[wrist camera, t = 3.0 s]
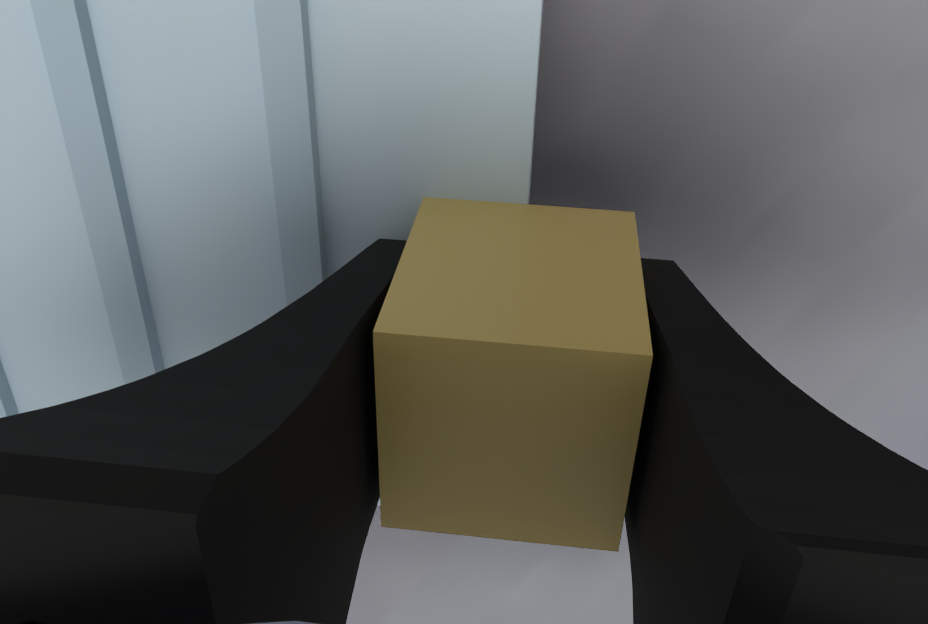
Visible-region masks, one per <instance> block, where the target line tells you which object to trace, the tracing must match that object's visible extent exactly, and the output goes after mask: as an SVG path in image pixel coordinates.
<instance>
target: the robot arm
mask: <svg viewBox="0 0 928 624" xmlns="http://www.w3.org/2000/svg"><path fill="white" fill-rule="evenodd" d="M406 242H407V241H406V240H393V239H380V238H379V239H378V240H376V241H375V242H373V243H372V244H371V245H369V246H368V247H367V248H366V249H364V250H363V251H362V252H360V253H359V254H358V255H357V256H355V257H354V258H353V259H352V260H350V261H349V262H348V263H346V264H345V265H344V266H343V267H341V268H340V269H339V270H337V271H336V272H335V273H333V274H332V275H331V276H329V277H328V278H327V279H325V280H324V281H323V282H321V283H320V284H319V285H317V286H316V287H315V288H313V289H312V290H311V291H309V292H308V293H306V294H305V295H303V296H302V297H300V298H299V299H297V300H296V301H294V302H293V303H291V304H290V305H288V306H287V307H285V308H283V309H282V310H280V311H279V312H277V313H276V314H274V315H273V316H271V317H270V318H268V319H267V320H265V321H264V322H262V323H260V324H258V325H257V326H255V327H253V328H252V329H250V330H248V331H246V332H244V333H243V334H241V335H239V336H237V337H235V338H233V339H231V340H229V341H227V342H225V343H223V344H221V345H219V346H217V347H215V348H213V349H211V350H209V351H207V352H205V353H203V354H201V355H199V356H196V357H194V358H191V359H189V360H186V361H184V362H182V363H179V364H177V365H174V366H172V367H169V368H167V369H164V370H162V371H160V372H157V373H155V374H152V375H150V376H147V377H145V378H142V379H139V380H137V381H134V382H131V383H128V384H125V385H122V386H119V387H116V388H113V389H110V390H107V391H104V392H100V393H97V394H93V395H90V396H87V397H83V398H80V399H77V400H73V401H70V402H66V403H62V404H58V405H55V406H51V407H46V408H42V409H38V410H33V411H29V412H24V413H20V414H15V415H11V416H7V417H2V418H0V624H346V620H347V615H348V611H349V606H350V602H351V598H352V593H353V589H354V585H355V580H356V576H357V571H358V567H359V563H360V558H361V554H362V551H363V547H364V544H365V540H366V537H367V534H368V530H369V527H370V524H371V521H372V518H373V516H374V513H375V510H376V507H377V504H378V501H379V498H380V487H379V464H378V441H377V418H376V395H375V372H374V349H373V330H374V327H375V324H376V322H377V319H378V316H379V314H380V311H381V308H382V306H383V303H384V301H385V298H386V295H387V293H388V290H389V287H390V285H391V282H392V279H393V277H394V274H395V271H396V269H397V266H398V263H399V261H400V258H401V255H402V253H403V250H404V247H405V245H406ZM641 265H642V273H643V281H644V288H645V296H646V304H647V312H648V320H649V328H650V336H651V343H652V351H653V359H652V364H651V370H650V376H649V381H648V387H647V392H646V398H645V404H644V409H643V415H642V421H641V426H640V432H639V437H638V443H637V449H636V454H635V460H634V465H633V471H632V477H631V482H630V488H629V494H628V499H627V505H626V510H625V523H626V530H627V537H628V545H629V552H630V562H631V573H632V586H633V624H928V470H926V469H924V468H922V467H920V466H918V465H916V464H915V463H913V462H911V461H909V460H907V459H906V458H904V457H902V456H900V455H898V454H897V453H895V452H893V451H891V450H890V449H888V448H886V447H885V446H883V445H881V444H880V443H878V442H876V441H875V440H873V439H872V438H870V437H868V436H867V435H865V434H864V433H862V432H860V431H859V430H857V429H856V428H854V427H852V426H851V425H849V424H848V423H846V422H845V421H843V420H842V419H840V418H839V417H837V416H836V415H834V414H833V413H831V412H830V411H828V410H827V409H826V408H824V407H823V406H822V405H820V404H819V403H818V402H816V401H815V400H814V399H812V398H811V397H810V396H808V395H807V394H806V393H804V392H803V391H802V390H800V389H799V388H798V387H797V386H795V385H794V384H793V383H791V382H790V381H789V380H788V379H787V378H785V377H784V376H783V375H782V374H781V373H779V372H778V371H777V370H776V369H775V368H774V367H773V366H771V365H770V364H769V363H768V362H767V361H766V360H765V359H764V358H763V357H762V356H761V355H760V354H758V353H757V352H756V351H755V350H754V349H753V348H752V347H751V346H750V345H749V344H748V343H747V342H746V341H745V340H744V339H743V338H742V337H741V336H740V335H739V334H738V333H737V332H736V331H735V330H734V329H733V328H732V327H731V326H730V325H729V324H728V323H727V322H726V321H725V320H724V319H723V318H722V316H721V315H720V314H719V313H718V312H717V311H716V310H715V309H714V308H713V307H712V305H711V304H710V303H709V302H708V301H707V300H706V299H705V297H704V296H703V295H702V294H701V293H700V292H699V290H698V289H697V288H696V287H695V286H694V284H693V283H692V282H691V281H690V280H689V279H688V277H687V276H686V275H685V274H684V273H683V271H682V270H681V269H680V268H679V267H678V265H677V264H676V263H675V262H674V261H671V260H658V259H645V258H641Z"/></svg>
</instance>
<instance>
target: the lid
mask: <svg viewBox="0 0 928 624" xmlns="http://www.w3.org/2000/svg"><path fill="white" fill-rule="evenodd" d="M543 3H544V0H0V418H2V417H7V416H11V415H15V414H20V413H24V412H29V411H33V410H38V409H42V408H46V407H51V406H55V405H58V404H62V403H66V402H70V401H73V400H77V399H80V398H83V397H87V396H90V395H93V394H97V393H100V392H104V391H107V390H110V389H113V388H116V387H119V386H122V385H125V384H128V383H131V382H134V381H137V380H139V379H142V378H145V377H147V376H150V375H152V374H155V373H157V372H160V371H162V370H164V369H167V368H169V367H172V366H174V365H177V364H179V363H182V362H184V361H186V360H189V359H191V358H194V357H196V356H199V355H201V354H203V353H205V352H207V351H209V350H211V349H213V348H215V347H217V346H219V345H221V344H223V343H225V342H227V341H229V340H231V339H233V338H235V337H237V336H239V335H241V334H243V333H244V332H246V331H248V330H250V329H252V328H253V327H255V326H257V325H258V324H260V323H262V322H264V321H265V320H267V319H268V318H270V317H271V316H273V315H274V314H276V313H277V312H279V311H280V310H282V309H283V308H285V307H287V306H288V305H290V304H291V303H293V302H294V301H296V300H297V299H299V298H300V297H302V296H303V295H305V294H306V293H308V292H309V291H311V290H312V289H313V288H315V287H316V286H317V285H319V284H320V283H321V282H323V281H324V280H325V279H327V278H328V277H329V276H331V275H332V274H333V273H335V272H336V271H337V270H339V269H340V268H341V267H343V266H344V265H345V264H346V263H348V262H349V261H350V260H352V259H353V258H354V257H355V256H357V255H358V254H359V253H360V252H362V251H363V250H364V249H366V248H367V247H368V246H369V245H371V244H372V243H373V242H375V241H376V240H378V239H379V238H380V239H393V240H406V241H407V242H406V245H405V247H404V250H403V253H402V255H401V258H400V261H399V263H398V266H397V269H396V271H395V274H394V277H393V279H392V282H391V285H390V287H389V290H388V293H387V295H386V298H385V301H384V303H383V306H382V308H381V311H380V314H379V316H378V319H377V322H376V324H375V327H374V330H373V349H374V372H375V395H376V418H377V441H378V464H379V487H380V498H379V501H378V504H377V505H378V506H380V510H381V527H390V528H400V529H409V530H419V531H428V532H438V533H447V534H457V535H466V536H476V537H485V538H494V539H504V540H513V541H523V542H532V543H542V544H551V545H561V546H570V547H580V548H589V549H598V550H608V551H617V552H618V550H619V544H620V538H621V533H622V527H623V522H624V516H625V510H626V505H627V499H628V494H629V488H630V482H631V477H632V471H633V465H634V460H635V454H636V449H637V443H638V437H639V432H640V426H641V421H642V415H643V409H644V404H645V398H646V392H647V387H648V381H649V376H650V370H651V364H652V359H653V351H652V343H651V336H650V328H649V320H648V312H647V304H646V296H645V288H644V281H643V273H642V265H641V257H640V249H639V241H638V233H637V226H636V218H635V212H629V211H615V210H601V209H587V208H573V207H559V206H544V205H530V204H529V200H530V186H531V172H532V158H533V144H534V130H535V115H536V101H537V87H538V73H539V59H540V45H541V31H542V17H543Z"/></svg>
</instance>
